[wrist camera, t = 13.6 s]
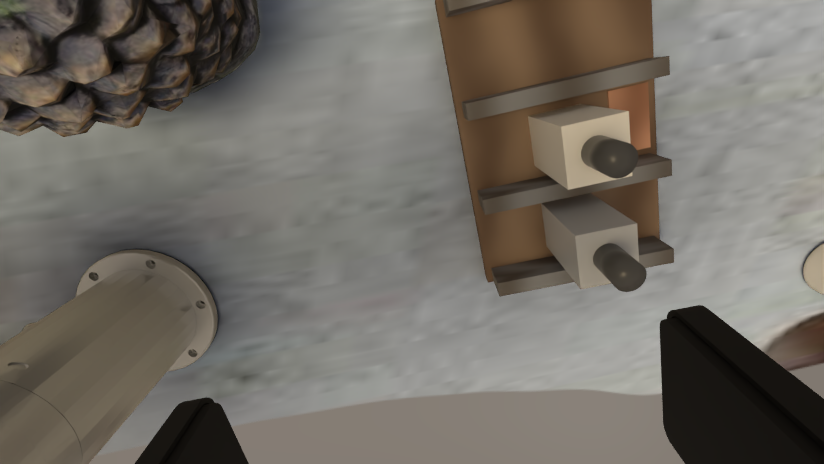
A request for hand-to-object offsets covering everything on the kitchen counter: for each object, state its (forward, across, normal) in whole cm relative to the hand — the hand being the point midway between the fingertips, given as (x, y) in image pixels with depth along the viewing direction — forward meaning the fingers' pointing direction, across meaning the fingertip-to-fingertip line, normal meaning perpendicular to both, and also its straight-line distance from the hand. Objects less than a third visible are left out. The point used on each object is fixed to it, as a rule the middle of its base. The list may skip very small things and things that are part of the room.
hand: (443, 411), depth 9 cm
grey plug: (+27, -11, +7) cm, 30 cm away
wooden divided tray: (+28, -11, 0) cm, 30 cm away
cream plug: (+27, -11, 0) cm, 29 cm away
